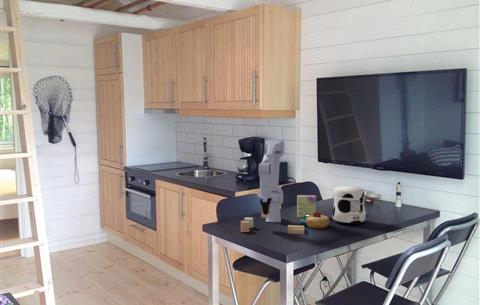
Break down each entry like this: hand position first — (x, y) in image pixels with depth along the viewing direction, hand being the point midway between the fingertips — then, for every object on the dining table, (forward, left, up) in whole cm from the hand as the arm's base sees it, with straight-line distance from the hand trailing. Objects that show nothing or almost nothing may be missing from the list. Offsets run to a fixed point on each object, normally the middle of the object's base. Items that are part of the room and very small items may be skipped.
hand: (265, 213), depth 221 cm
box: (-30, +21, -9) cm, 38 cm away
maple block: (0, 0, -2) cm, 2 cm away
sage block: (-3, -9, -8) cm, 13 cm away
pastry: (-9, +26, -9) cm, 29 cm away
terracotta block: (+4, -10, -8) cm, 14 cm away
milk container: (-19, +43, -9) cm, 48 cm away
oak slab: (+2, +15, -9) cm, 17 cm away
